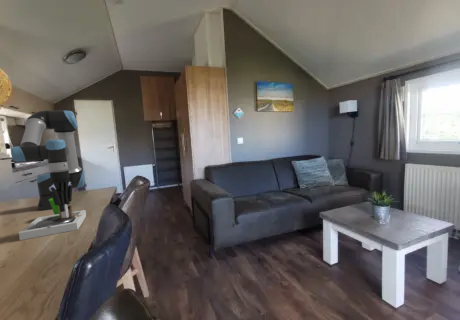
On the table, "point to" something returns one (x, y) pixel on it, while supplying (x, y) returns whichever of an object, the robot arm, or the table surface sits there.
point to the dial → (57, 219)
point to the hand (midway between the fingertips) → (65, 217)
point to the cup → (54, 206)
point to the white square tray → (33, 232)
